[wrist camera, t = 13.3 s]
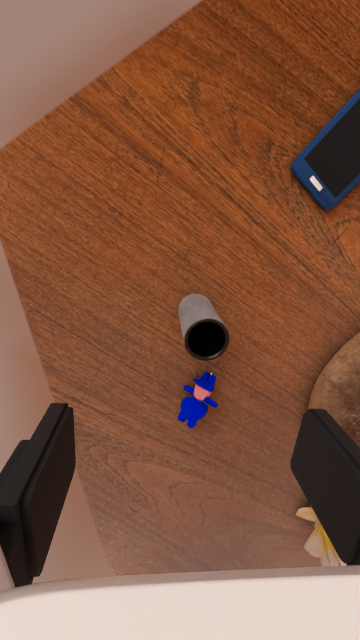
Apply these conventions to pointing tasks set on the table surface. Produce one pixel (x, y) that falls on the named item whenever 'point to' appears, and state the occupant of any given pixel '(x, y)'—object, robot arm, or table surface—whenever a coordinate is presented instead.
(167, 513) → the table surface
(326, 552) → the decorative flower
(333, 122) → the cell phone
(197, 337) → the planter
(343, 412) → the bread
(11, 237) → the table surface
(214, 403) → the figurine
